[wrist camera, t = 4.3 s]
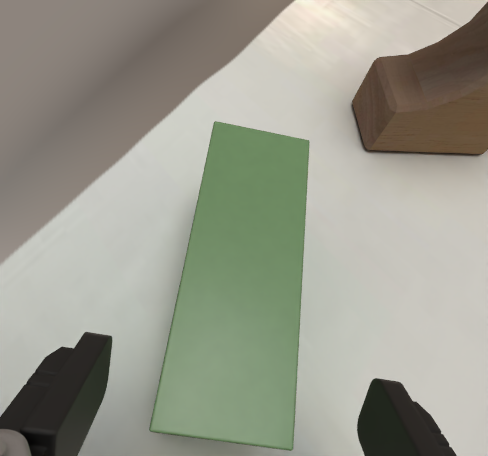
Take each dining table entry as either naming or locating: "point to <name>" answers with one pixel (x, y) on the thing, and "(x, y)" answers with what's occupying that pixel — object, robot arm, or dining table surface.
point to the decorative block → (430, 96)
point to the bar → (239, 296)
